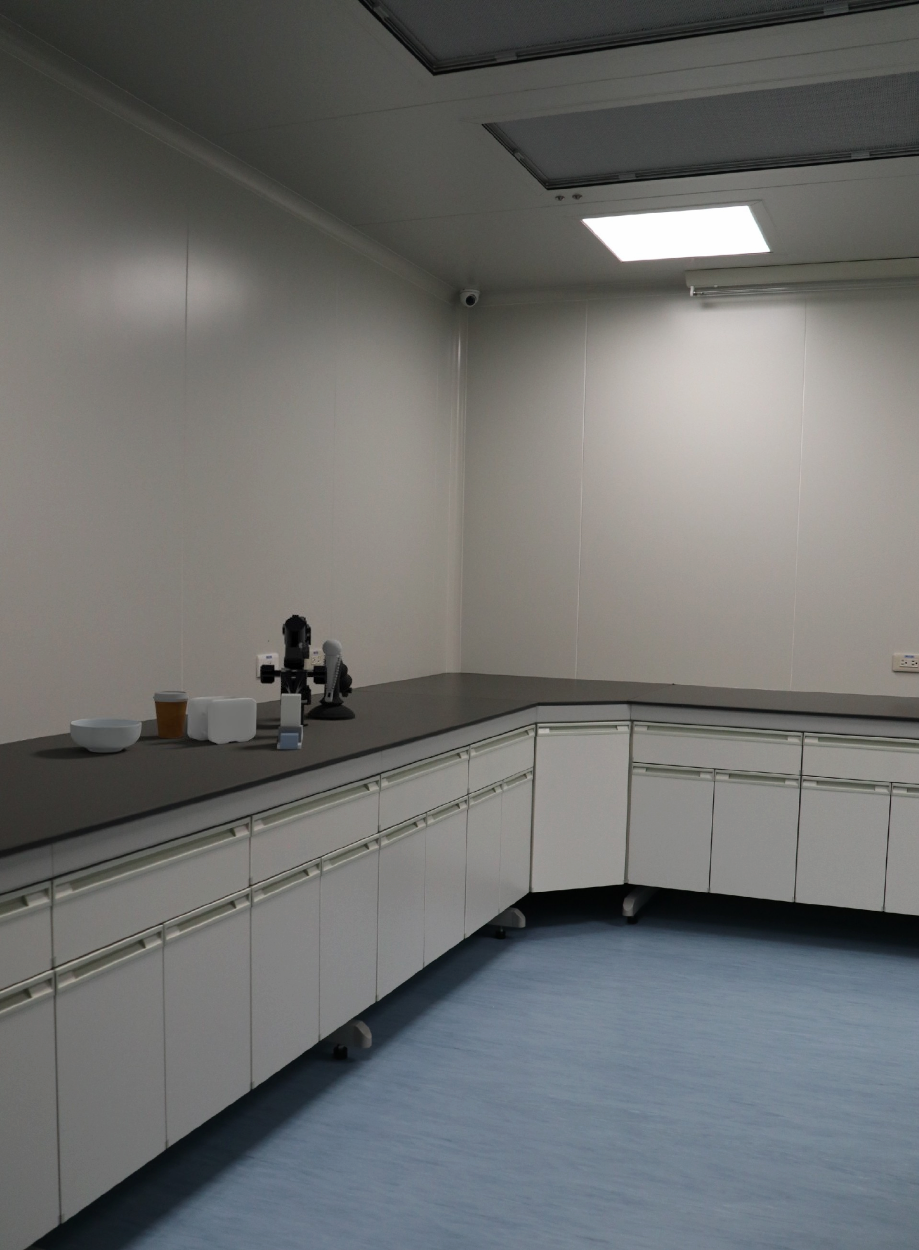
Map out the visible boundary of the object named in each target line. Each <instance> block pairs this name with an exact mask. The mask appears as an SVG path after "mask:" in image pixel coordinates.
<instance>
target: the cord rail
mask: <svg viewBox="0 0 919 1250" xmlns="http://www.w3.org/2000/svg"><path fill="white" fill-rule="evenodd" d="M303 727H304V726H303V725H300V726H281V725H280V726H279V725H278V727H277V728H278V731H277V733H278V734H277V744H276V749H277V750H301V749H302V744H303V738H304V732H303V731H304V730H303Z"/></svg>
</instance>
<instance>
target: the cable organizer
mask: <svg viewBox="0 0 919 1250" xmlns="http://www.w3.org/2000/svg"><path fill="white" fill-rule="evenodd" d="M186 733H187V736H188V737H189V738H191V739H194V740H197V741H208V740H209V741H210V742H212V743H216V745H224V744H229V742H230V743H231V742H236V743H242V742H243V743H244V742H249V740H251V739H253V738H254V737H255V736H256V733H257V701H256V700H255V699H254V698H251V697H242V698H241V697H239V698H237V697H236V696H235V695H219V696H218V695H217V696H203V697H201V696H200V697H193V698H192V699H190V700H188V702H187V732H186Z"/></svg>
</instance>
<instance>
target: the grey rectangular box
mask: <svg viewBox="0 0 919 1250" xmlns="http://www.w3.org/2000/svg"><path fill="white" fill-rule="evenodd" d="M280 701H281V705H280V723H281V724H280V726H300V718H301V701H302V700H301V694H282V695H281V694H280Z"/></svg>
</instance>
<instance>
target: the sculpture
mask: <svg viewBox="0 0 919 1250" xmlns="http://www.w3.org/2000/svg"><path fill="white" fill-rule="evenodd" d="M321 649H322V652H323V654H324V655H323V656H324V658H323V664H322V665H325V666H326V667H327V684H325V685H323V686H324V687H323V690H324V691H323V697H322V698H321V699H320V700H319V701H318V703H319V705H316V706H315V707H313V708H311V709H310V710H309V711H308V712H307V713H306V717H307V718H308V719H312V720H315V721H316V720H317V721H319V720H320V721H348V720H353V719H355V718H356V714H355V712H354V711H353V710H352V709H351V708H349V707H347V706H346V705H343V704H344V703H345V701H344V700H343V698H347V697H348V696H349V694H352V693H353V687H352V683H353V678H352V675H350V674H349V673H348V672H349V669H348V666H347V665H346V664H345V663H344V662H343V655H342V653H341V652H342V650H343V647H342V644H341V641H339V640H338V639H335V638H329V639H327V640H325V641H324V642H323V644H322V647H321ZM340 694H341V697H340Z"/></svg>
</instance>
